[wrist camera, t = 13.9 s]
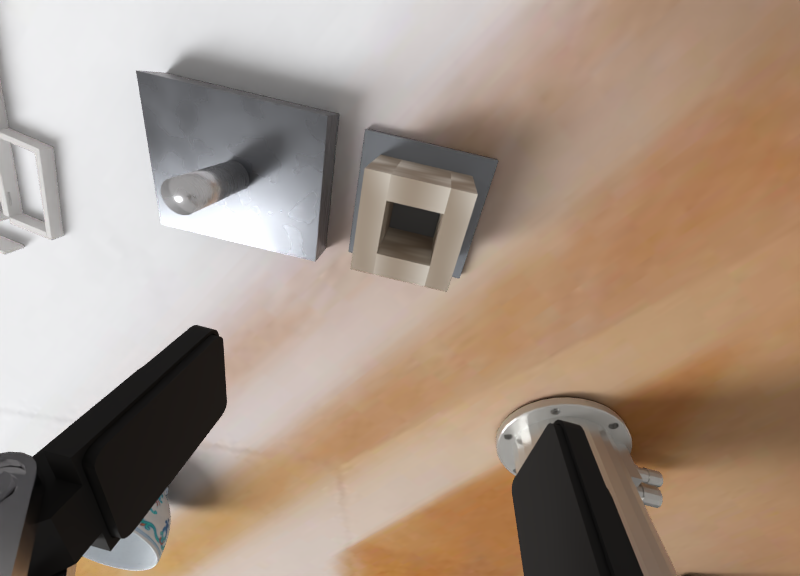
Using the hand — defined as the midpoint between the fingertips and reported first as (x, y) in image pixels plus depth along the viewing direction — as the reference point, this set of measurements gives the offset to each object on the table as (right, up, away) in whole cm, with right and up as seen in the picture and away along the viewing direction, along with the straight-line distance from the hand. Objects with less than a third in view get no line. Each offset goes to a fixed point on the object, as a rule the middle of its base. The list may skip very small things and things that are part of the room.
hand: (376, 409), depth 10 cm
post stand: (-10, +12, +16) cm, 22 cm away
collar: (+2, +9, +15) cm, 18 cm away
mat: (+2, +9, +16) cm, 18 cm away
